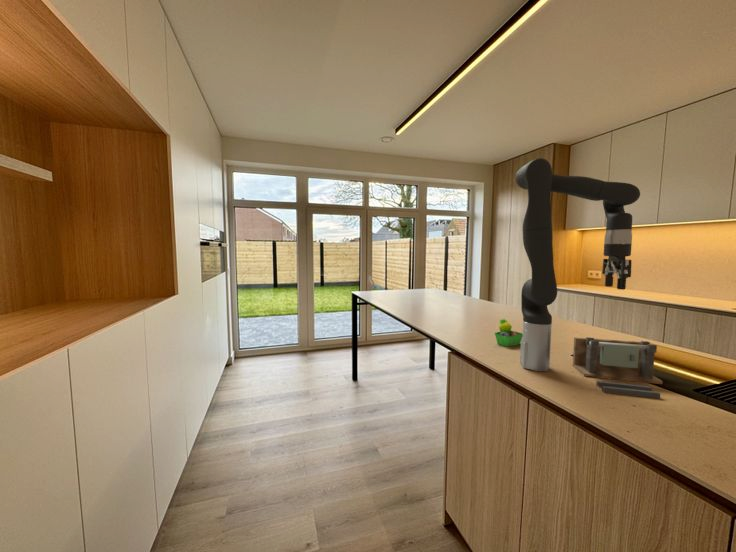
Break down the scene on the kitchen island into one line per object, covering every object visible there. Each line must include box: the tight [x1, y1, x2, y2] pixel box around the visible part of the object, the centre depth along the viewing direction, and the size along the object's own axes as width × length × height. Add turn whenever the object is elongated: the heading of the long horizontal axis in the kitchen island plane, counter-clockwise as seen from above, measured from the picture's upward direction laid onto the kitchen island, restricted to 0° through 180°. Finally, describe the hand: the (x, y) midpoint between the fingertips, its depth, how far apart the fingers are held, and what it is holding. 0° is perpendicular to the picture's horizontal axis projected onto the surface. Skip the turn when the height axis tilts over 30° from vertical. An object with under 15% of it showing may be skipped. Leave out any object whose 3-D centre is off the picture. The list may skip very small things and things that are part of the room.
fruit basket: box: [494, 318, 523, 347], centre depth 138 cm, size 11×9×11 cm
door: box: [589, 341, 647, 368], centre depth 100 cm, size 18×3×8 cm, turn 74°
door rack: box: [595, 380, 661, 399], centre depth 90 cm, size 14×5×2 cm, turn 74°
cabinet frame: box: [572, 336, 663, 385], centre depth 103 cm, size 22×10×13 cm, turn 74°
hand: (614, 287), depth 106 cm, fingers open, 8 cm apart
